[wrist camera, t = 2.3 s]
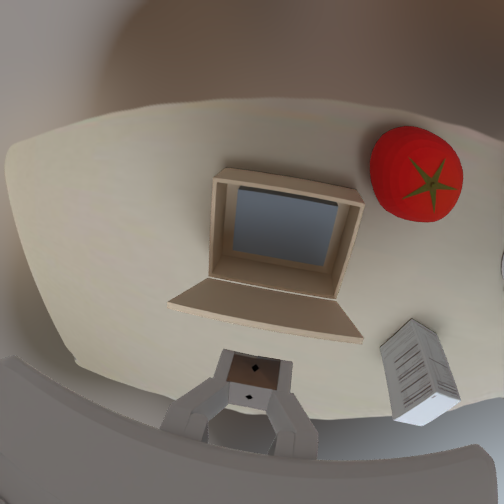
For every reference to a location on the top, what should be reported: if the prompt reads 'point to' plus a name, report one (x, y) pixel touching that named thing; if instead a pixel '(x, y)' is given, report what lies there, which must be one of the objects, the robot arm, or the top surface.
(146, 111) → the top surface
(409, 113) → the top surface
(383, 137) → the tomato
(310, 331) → the lid
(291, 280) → the box
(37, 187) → the top surface
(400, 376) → the supplement box
